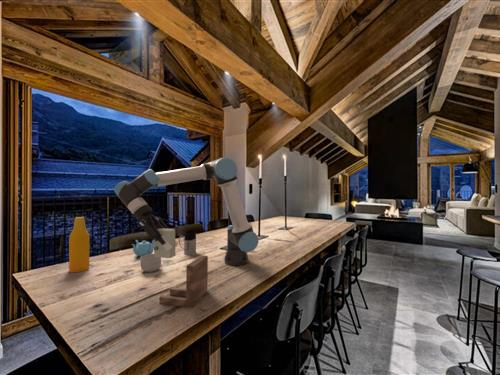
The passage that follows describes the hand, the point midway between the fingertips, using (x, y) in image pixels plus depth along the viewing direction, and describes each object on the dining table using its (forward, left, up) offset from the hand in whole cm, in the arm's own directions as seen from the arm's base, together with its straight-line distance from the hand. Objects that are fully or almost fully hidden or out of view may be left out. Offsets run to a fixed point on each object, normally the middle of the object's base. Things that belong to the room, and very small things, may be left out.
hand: (173, 247), depth 104 cm
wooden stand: (-7, +5, -20) cm, 21 cm away
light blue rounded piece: (+34, -53, -20) cm, 66 cm away
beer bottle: (+59, -28, -20) cm, 69 cm away
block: (+4, -1, -4) cm, 6 cm away
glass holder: (+6, -56, -20) cm, 60 cm away
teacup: (+19, -28, -20) cm, 40 cm away
